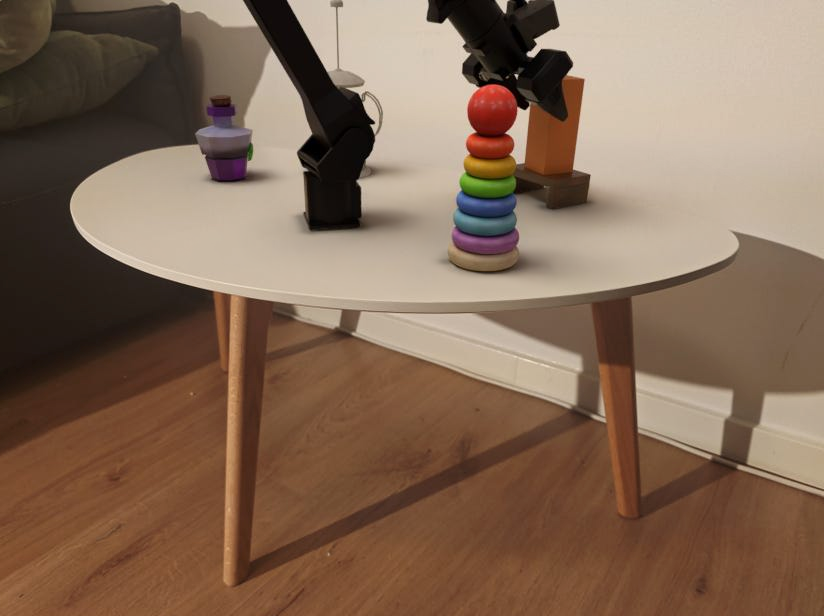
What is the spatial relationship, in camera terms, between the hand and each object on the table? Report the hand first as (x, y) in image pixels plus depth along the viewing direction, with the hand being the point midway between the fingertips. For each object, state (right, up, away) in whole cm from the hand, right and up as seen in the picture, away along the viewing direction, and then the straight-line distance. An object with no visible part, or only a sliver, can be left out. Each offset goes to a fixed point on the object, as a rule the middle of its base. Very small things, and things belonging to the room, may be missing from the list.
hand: (545, 113), depth 96 cm
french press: (-29, -4, +17) cm, 34 cm away
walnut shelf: (+1, -10, +6) cm, 12 cm away
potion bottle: (-47, -6, +12) cm, 49 cm away
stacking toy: (-10, -23, -17) cm, 31 cm away
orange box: (+1, -7, +4) cm, 8 cm away
